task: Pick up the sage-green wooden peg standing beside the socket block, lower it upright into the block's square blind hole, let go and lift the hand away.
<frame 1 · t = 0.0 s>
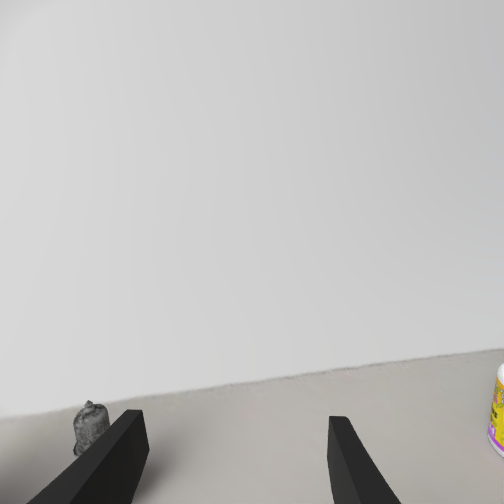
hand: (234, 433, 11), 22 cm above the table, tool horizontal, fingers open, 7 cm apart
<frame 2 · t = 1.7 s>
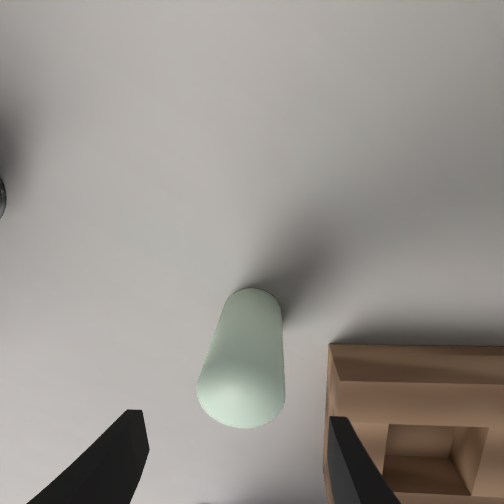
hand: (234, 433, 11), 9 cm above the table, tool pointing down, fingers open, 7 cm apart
socket block: (406, 413, 21), on the table
peg: (252, 315, 20), on the table
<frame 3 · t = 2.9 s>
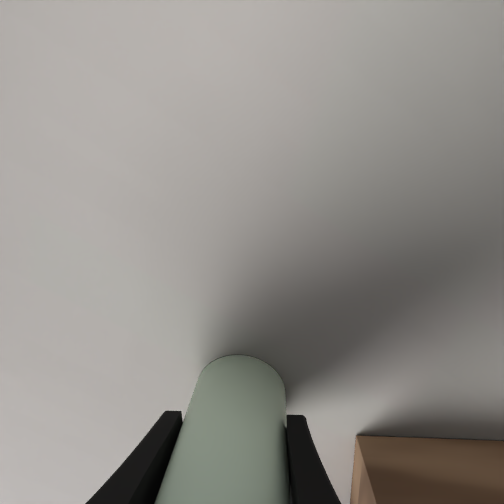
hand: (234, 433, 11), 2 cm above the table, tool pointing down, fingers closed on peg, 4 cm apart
peg: (240, 392, 13), on the table, touching gripper
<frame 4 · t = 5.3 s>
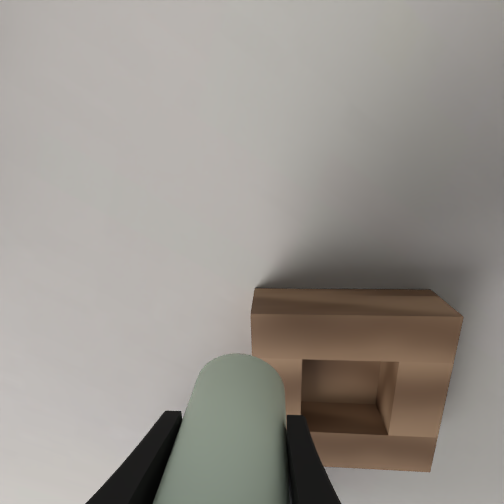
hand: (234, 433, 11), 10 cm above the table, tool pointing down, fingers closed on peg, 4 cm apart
socket block: (335, 361, 21), on the table
peg: (239, 391, 13), point 8 cm above the table, touching gripper
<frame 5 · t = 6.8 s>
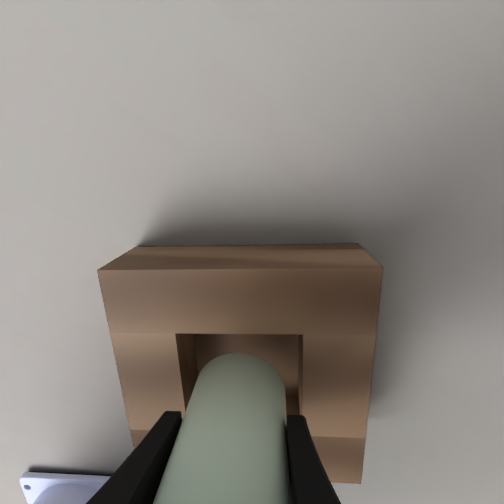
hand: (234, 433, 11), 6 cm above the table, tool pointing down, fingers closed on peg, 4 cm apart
socket block: (247, 341, 17), on the table
peg: (240, 390, 13), point 4 cm above the table, touching gripper
when the fingers open (4 cm above the table, at t = 8.0 s): peg drops 1 cm, resting on socket block.
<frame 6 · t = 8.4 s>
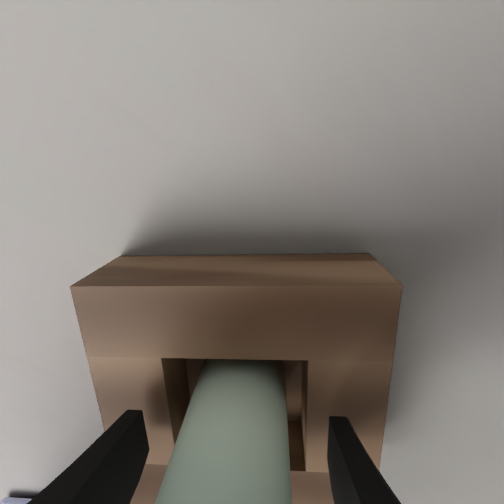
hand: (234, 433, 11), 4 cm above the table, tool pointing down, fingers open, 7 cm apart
socket block: (245, 361, 15), on the table
peg: (243, 372, 14), point 1 cm above the table, touching socket block
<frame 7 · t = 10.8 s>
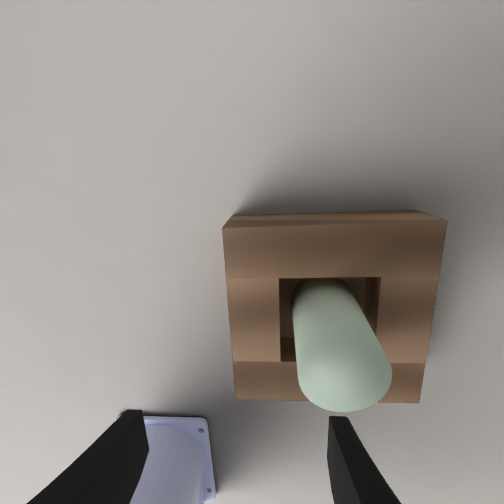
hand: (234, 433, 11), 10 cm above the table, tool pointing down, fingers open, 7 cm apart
socket block: (319, 295, 20), on the table
peg: (321, 300, 19), point 1 cm above the table, touching socket block
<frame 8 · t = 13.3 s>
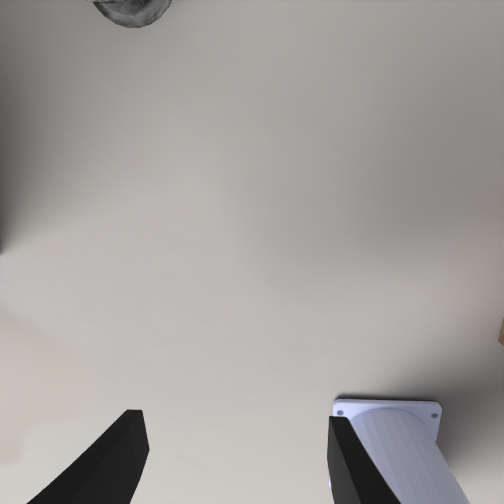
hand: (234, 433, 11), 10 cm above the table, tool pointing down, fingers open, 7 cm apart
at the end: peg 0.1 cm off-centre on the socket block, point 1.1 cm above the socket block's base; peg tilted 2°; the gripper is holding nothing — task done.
